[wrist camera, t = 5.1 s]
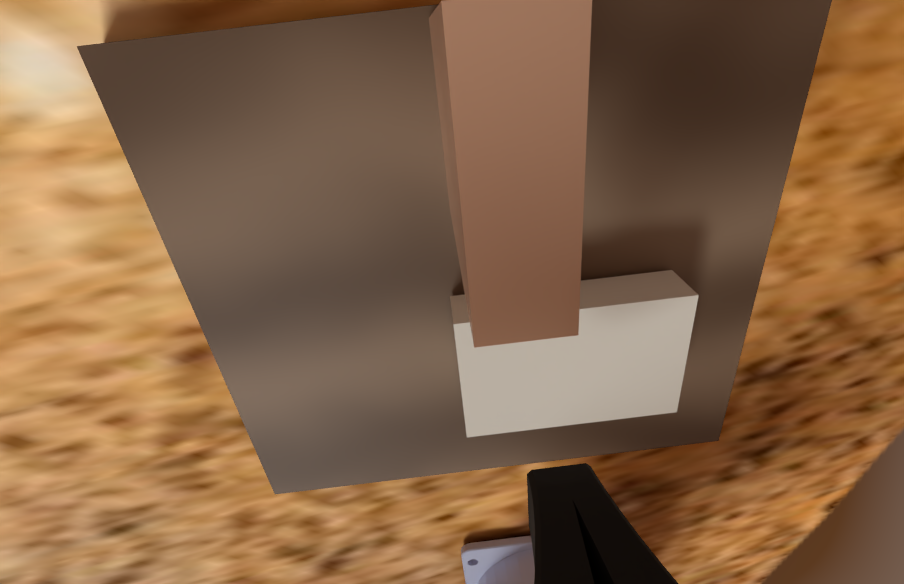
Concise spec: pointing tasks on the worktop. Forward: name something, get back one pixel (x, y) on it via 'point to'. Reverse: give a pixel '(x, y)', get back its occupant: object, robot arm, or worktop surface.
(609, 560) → the robot arm
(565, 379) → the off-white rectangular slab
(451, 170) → the tall pinkish clay block
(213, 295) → the board
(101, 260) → the worktop surface
